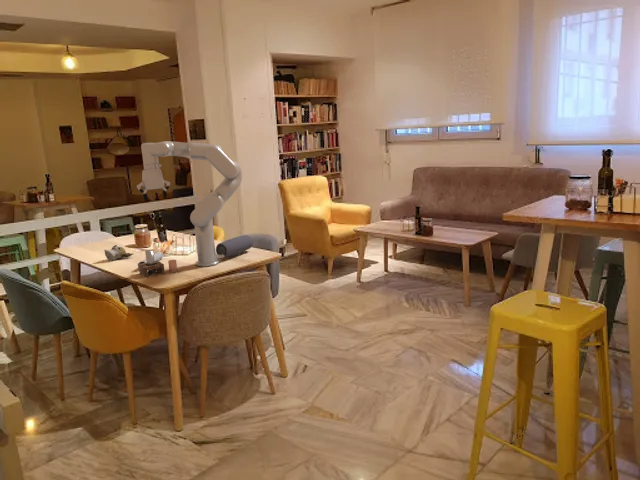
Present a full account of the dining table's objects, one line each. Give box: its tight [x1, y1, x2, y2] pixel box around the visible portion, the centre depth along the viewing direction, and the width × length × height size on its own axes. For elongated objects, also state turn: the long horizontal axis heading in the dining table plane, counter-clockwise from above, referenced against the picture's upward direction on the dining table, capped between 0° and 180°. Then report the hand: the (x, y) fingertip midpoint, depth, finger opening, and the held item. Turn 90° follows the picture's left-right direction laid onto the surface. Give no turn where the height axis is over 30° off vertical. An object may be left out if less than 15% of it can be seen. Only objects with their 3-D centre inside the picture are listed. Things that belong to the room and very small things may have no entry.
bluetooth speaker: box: [215, 234, 254, 259], centre depth 289 cm, size 23×9×10 cm, turn 149°
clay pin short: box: [167, 259, 178, 274], centre depth 263 cm, size 4×4×6 cm
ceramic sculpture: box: [103, 244, 134, 262], centre depth 295 cm, size 11×9×15 cm
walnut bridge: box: [138, 260, 166, 278], centre depth 262 cm, size 10×10×5 cm
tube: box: [137, 250, 164, 269], centre depth 281 cm, size 5×5×25 cm
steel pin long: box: [144, 249, 157, 275], centre depth 261 cm, size 4×4×12 cm
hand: (155, 199), depth 266 cm, fingers open, 9 cm apart
